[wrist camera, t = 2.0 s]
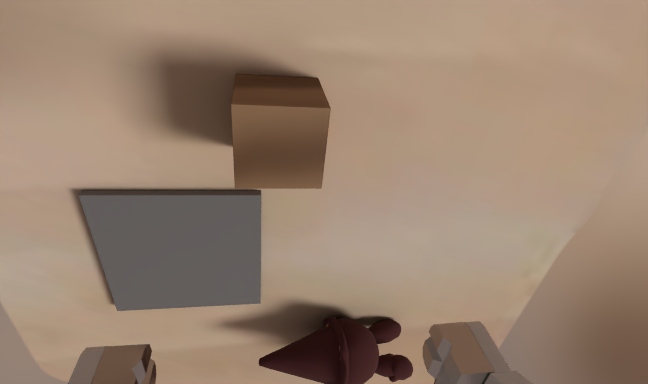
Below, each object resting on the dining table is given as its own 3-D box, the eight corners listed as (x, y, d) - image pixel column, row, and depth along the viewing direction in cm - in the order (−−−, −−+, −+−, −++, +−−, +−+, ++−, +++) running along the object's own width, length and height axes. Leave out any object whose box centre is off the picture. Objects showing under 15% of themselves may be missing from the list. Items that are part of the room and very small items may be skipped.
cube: (236, 73, 22) (231, 104, 18) (317, 77, 23) (330, 108, 19) (239, 147, 25) (234, 188, 21) (311, 148, 26) (321, 188, 22)
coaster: (81, 190, 25) (78, 195, 24) (260, 190, 27) (261, 195, 26) (119, 305, 31) (117, 310, 31) (260, 298, 34) (260, 303, 33)
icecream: (256, 415, 33) (402, 393, 38) (267, 395, 28) (435, 372, 32) (252, 338, 38) (383, 326, 42) (261, 308, 32) (410, 298, 37)
